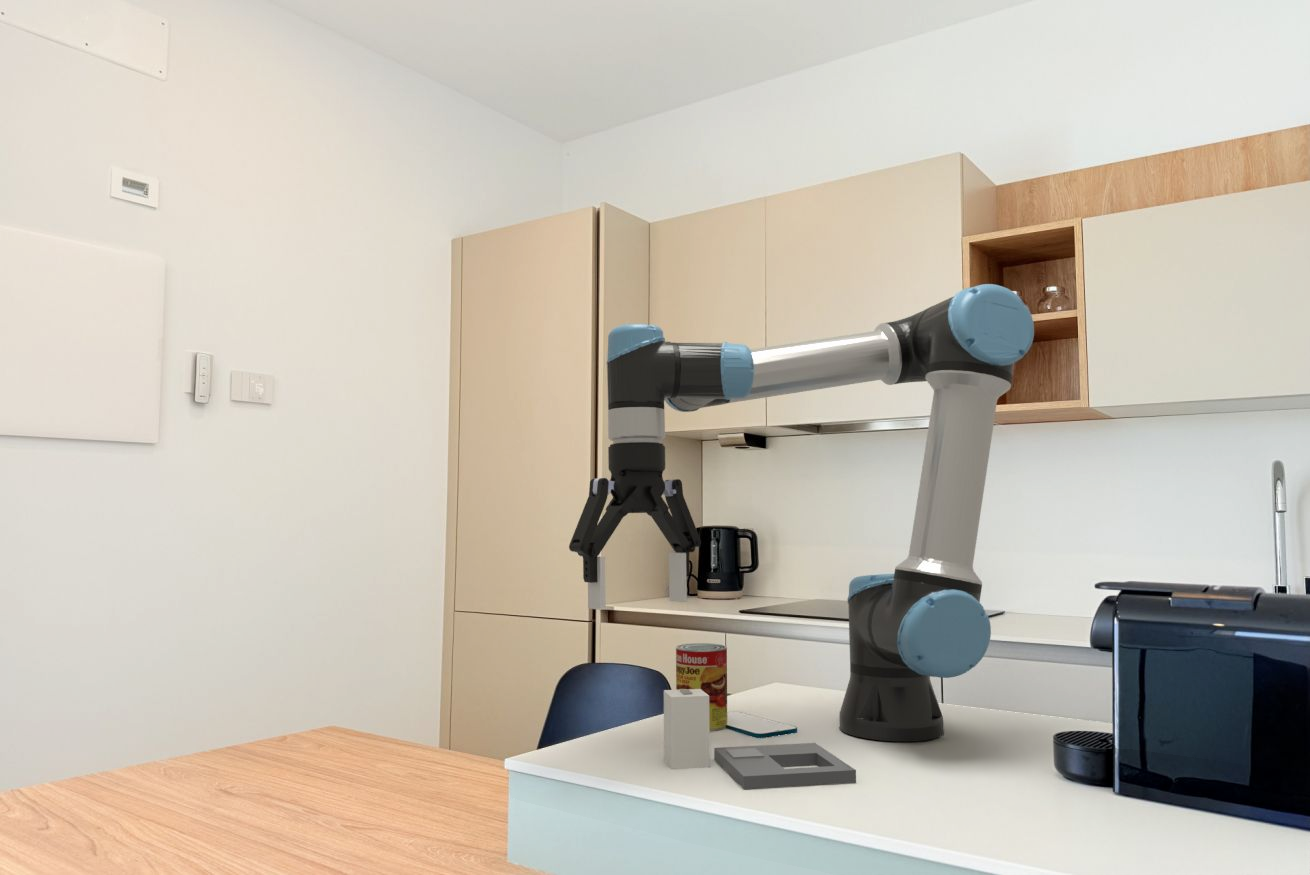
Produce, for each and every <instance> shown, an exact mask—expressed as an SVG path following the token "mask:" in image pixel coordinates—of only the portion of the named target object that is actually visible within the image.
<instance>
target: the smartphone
mask: <svg viewBox="0 0 1310 875" xmlns="http://www.w3.org/2000/svg"><path fill="white" fill-rule="evenodd" d="M725 729H727V730H729V731H733V732H737V733H740V734H742V735H746V736H748V737H751V736H752V738H754V737H755V739H766V737H768V738H773V737H772V736H774V737H779V736H778V735H780V736H786V735H785V734H787V735H791V733H793V734H797V733H798V727H797V726H795V725H791V724H787V723H784V722H779V721H776V720H771V719H768V718H764V717H760V716H757V715H753V714H749V713H746V712H742V711H727V724H726V728H725Z"/></svg>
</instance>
